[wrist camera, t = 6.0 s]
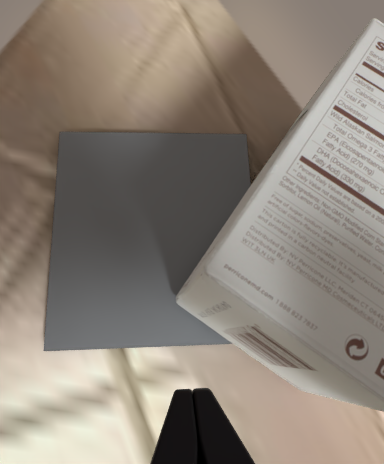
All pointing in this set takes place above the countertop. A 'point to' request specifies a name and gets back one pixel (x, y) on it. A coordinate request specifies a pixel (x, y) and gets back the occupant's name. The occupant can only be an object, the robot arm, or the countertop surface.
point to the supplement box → (311, 243)
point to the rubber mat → (136, 234)
